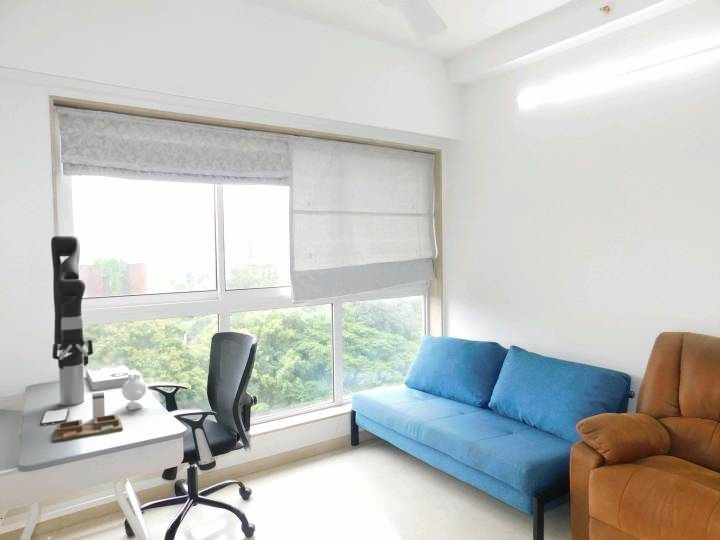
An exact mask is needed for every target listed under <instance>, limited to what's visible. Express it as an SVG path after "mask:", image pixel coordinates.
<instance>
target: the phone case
mask: <svg viewBox="0 0 720 540" xmlns="http://www.w3.org/2000/svg"><path fill="white" fill-rule="evenodd" d="M69 414H70V409H69V408H61V409H53V410H47V411H44V413H43V416H42V418H41V421H40V426H41V425H44V424H52V423H62V422H68V418H69ZM67 417H68V418H67ZM52 425H53V424H52ZM44 426H45V425H44Z"/></svg>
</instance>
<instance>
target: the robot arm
mask: <svg viewBox="0 0 720 540" xmlns="http://www.w3.org/2000/svg"><path fill="white" fill-rule="evenodd" d="M80 247H81V246H80V240H79V238H78V237H77V236H73V235H72V236H70V235H65V236H63V235H56V236H53V237H52V238H51V241H50V249H51V250H50V251H51V258H52V260H51V261H52V271H53V272H52V275H53V284H52V285H53V287H52V288H53V290H52V291H53V307H54V329H53V330H54V333H53V337H54V338H53V339H54V340H53V341H54V343H53V344H52V356H51V357H52V359H53V360H57V362H58V364H57V365H58V374H59V375H58V376H59V404H60V406H67V407H68V406H75V405H79V404H82V403H84V401H85V389H84V388H85V384H84V382H85V381H84V379H85V378H84V366H87V365H89V356H91V355H93V354H94V350H93V349H94V348H93V340H91V339H87V340H84V331H83V328H84V325H83V324H84V323H83V318H82V301H83V297H84V294H85V292H86V291H85V289H86V284H85V281H84V280H83V279H80V273H79V262H80V252H81V248H80ZM61 257H66V258H65V259H64V260H63V261H62V260H61V259H62V258H61ZM84 346H86V347H87V352H86V350H85V349H84V348H83V347H84ZM58 351H61V352H60V354H59V355H58ZM67 354H68V355H67Z"/></svg>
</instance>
